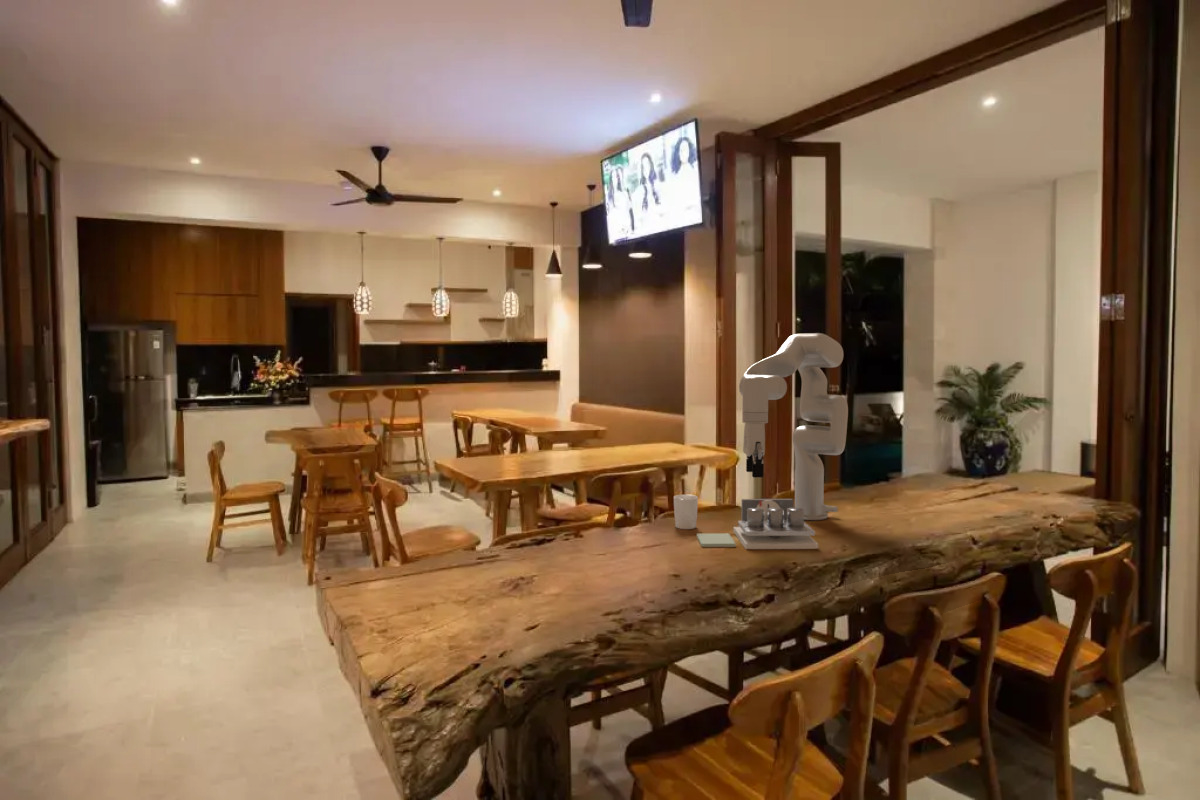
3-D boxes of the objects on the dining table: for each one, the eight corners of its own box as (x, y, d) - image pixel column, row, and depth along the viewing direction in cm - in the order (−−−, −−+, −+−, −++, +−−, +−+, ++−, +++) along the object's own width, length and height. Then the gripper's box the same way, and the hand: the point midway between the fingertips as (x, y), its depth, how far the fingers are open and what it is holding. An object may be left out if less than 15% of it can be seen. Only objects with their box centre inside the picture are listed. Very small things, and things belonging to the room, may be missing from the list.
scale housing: (799, 531, 239) (799, 498, 239) (817, 548, 218) (818, 513, 218) (733, 531, 240) (733, 498, 239) (745, 549, 219) (745, 513, 218)
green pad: (728, 536, 233) (728, 533, 233) (735, 546, 221) (735, 543, 221) (696, 536, 233) (696, 533, 233) (701, 547, 221) (701, 543, 221)
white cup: (669, 525, 248) (669, 495, 248) (690, 523, 251) (690, 493, 251) (680, 530, 241) (680, 500, 240) (702, 528, 244) (702, 498, 243)
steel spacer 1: (781, 523, 229) (781, 507, 229) (785, 527, 224) (785, 511, 224) (765, 523, 229) (765, 507, 229) (768, 527, 224) (769, 511, 224)
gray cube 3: (762, 524, 229) (762, 507, 229) (765, 527, 224) (765, 511, 224) (745, 524, 229) (745, 507, 229) (748, 527, 224) (748, 511, 224)
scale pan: (802, 524, 234) (802, 520, 234) (814, 535, 220) (815, 531, 220) (738, 524, 234) (738, 520, 234) (746, 535, 220) (746, 531, 220)
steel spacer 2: (801, 523, 229) (801, 507, 229) (805, 527, 224) (806, 511, 224) (785, 523, 229) (785, 507, 229) (789, 527, 224) (789, 511, 224)
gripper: (737, 415, 233) (737, 469, 234) (747, 420, 216) (747, 479, 217) (761, 415, 233) (761, 469, 234) (773, 420, 216) (773, 479, 217)
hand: (754, 474), depth 226 cm, fingers open, 9 cm apart
